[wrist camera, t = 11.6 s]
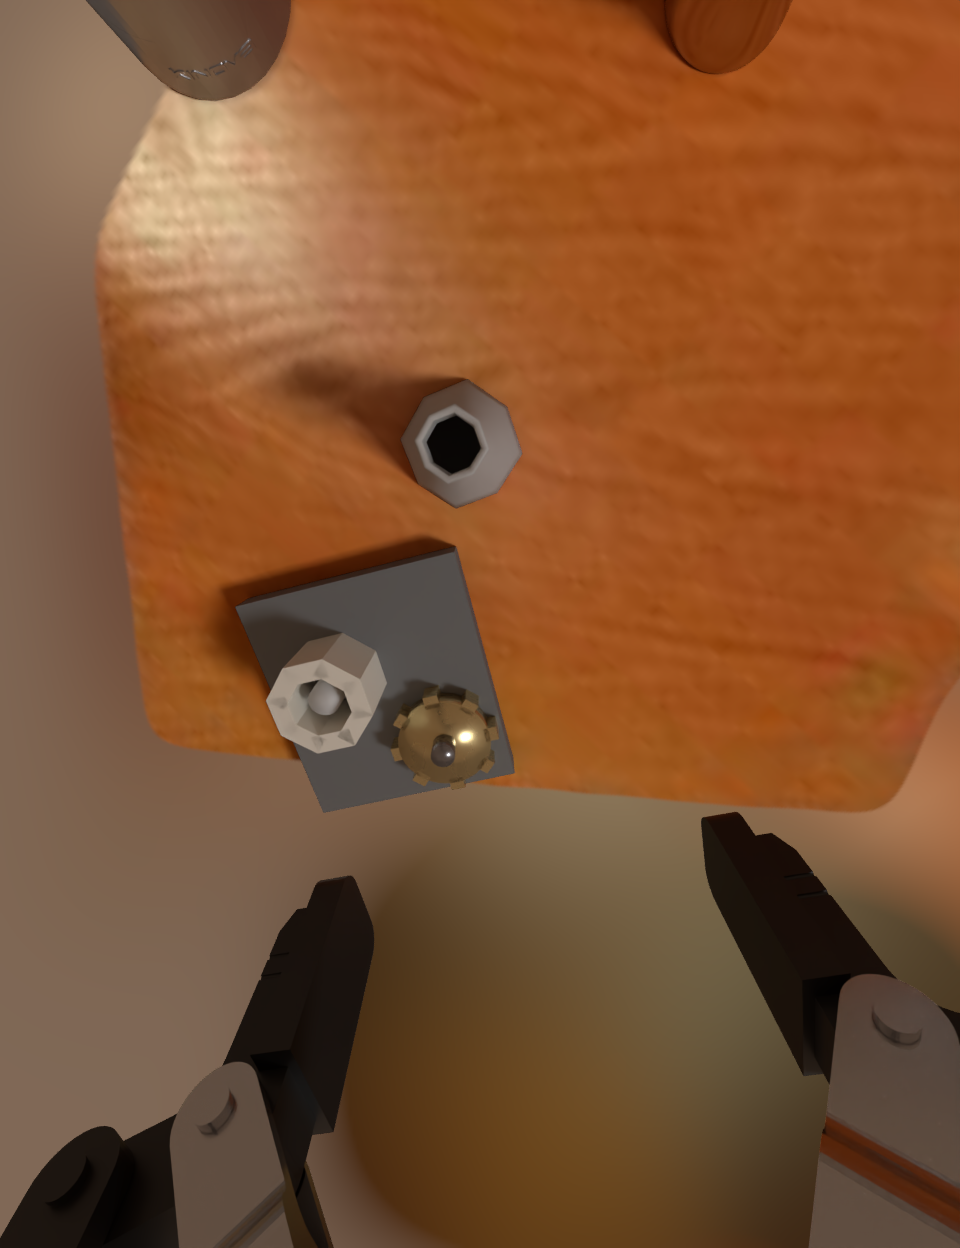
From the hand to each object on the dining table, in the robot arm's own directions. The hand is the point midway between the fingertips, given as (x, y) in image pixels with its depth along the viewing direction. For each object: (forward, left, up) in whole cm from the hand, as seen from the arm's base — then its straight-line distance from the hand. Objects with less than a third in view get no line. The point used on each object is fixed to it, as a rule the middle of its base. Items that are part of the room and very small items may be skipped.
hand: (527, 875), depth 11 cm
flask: (-10, 0, -25) cm, 27 cm away
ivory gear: (+3, -12, -23) cm, 26 cm away
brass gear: (+9, -6, -23) cm, 25 cm away
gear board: (+5, -10, -25) cm, 27 cm away
